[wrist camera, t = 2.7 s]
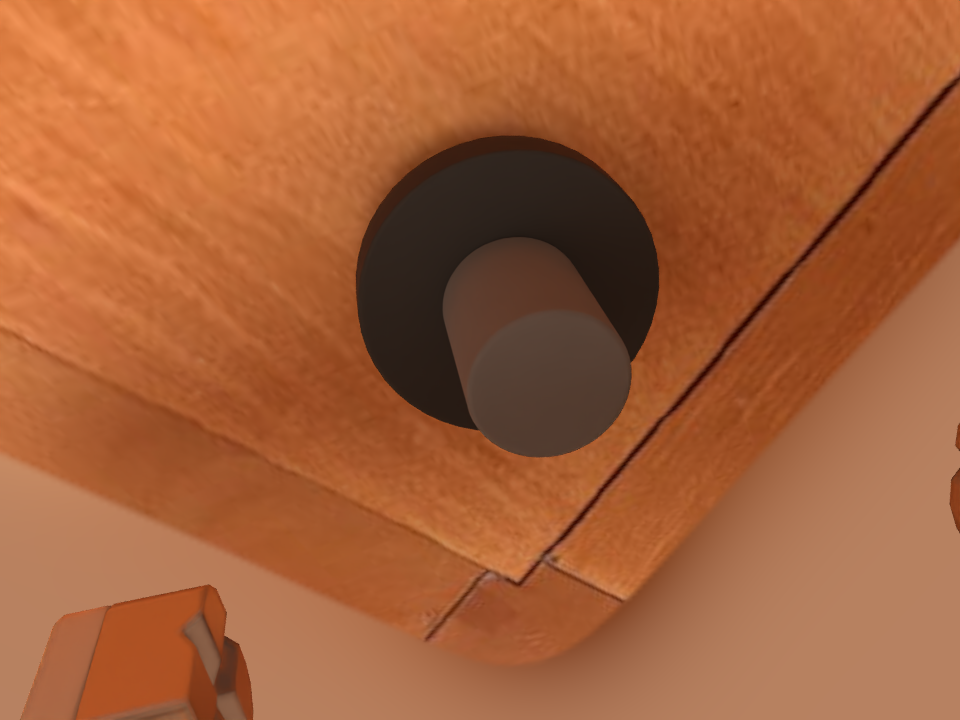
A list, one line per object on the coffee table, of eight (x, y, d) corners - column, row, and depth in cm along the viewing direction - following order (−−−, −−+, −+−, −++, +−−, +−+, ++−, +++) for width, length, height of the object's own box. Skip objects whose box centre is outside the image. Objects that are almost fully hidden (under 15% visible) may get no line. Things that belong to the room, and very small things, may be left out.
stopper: (597, 81, 17) (723, 175, 12) (619, 325, 20) (732, 495, 14) (324, 135, 17) (325, 255, 11) (382, 376, 19) (405, 568, 14)
